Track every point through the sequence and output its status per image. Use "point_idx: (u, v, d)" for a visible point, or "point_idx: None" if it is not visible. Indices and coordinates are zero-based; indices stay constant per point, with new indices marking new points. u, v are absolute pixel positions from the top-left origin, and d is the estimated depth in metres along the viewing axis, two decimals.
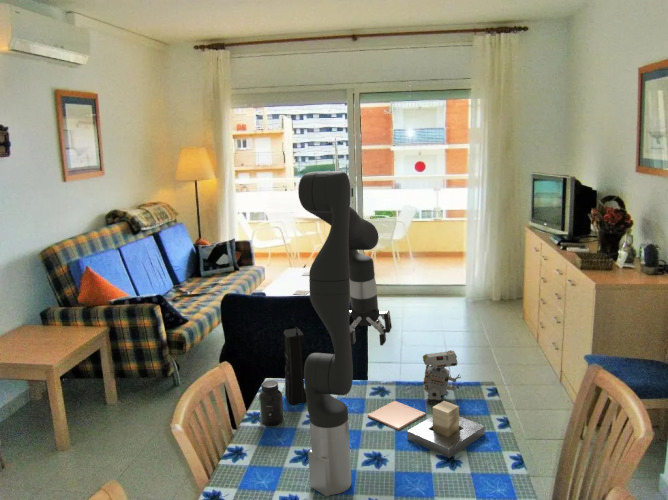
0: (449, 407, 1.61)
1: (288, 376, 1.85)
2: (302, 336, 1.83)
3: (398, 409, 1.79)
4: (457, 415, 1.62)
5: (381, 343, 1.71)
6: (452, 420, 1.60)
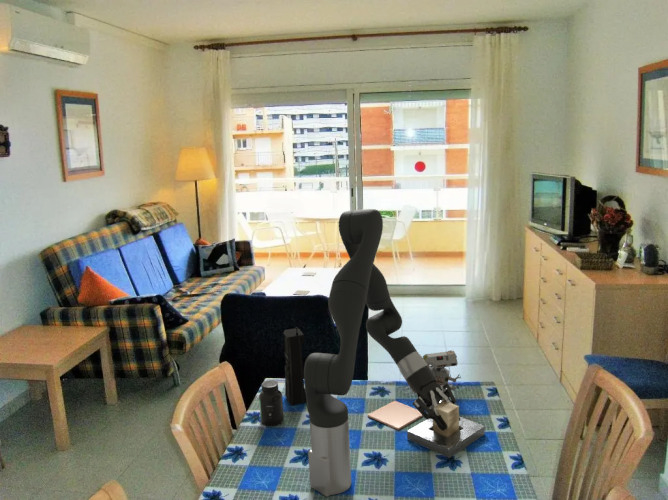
0: (449, 407, 1.61)
1: (288, 376, 1.85)
2: (302, 336, 1.83)
3: (398, 409, 1.79)
4: (457, 415, 1.62)
5: None
6: (452, 419, 1.60)
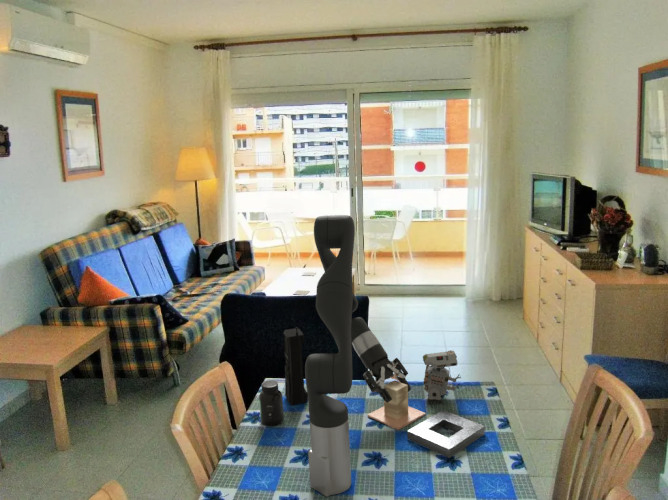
0: (398, 386, 1.74)
1: (288, 376, 1.85)
2: (302, 336, 1.83)
3: None
4: (406, 393, 1.75)
5: (409, 387, 1.77)
6: (401, 397, 1.73)
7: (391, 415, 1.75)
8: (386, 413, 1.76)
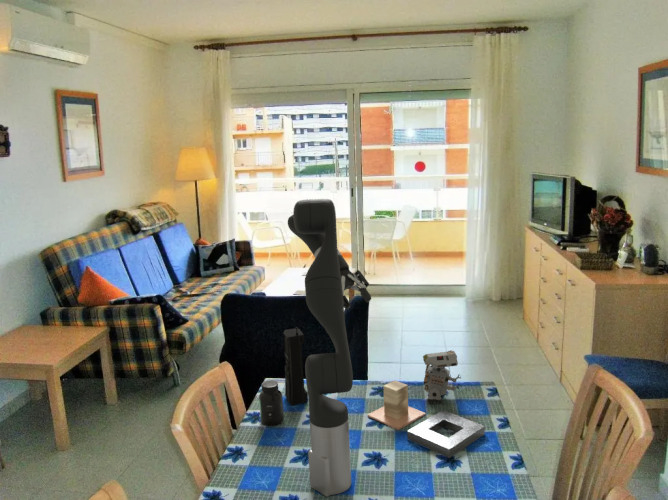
0: (398, 386, 1.74)
1: (288, 376, 1.85)
2: (302, 336, 1.83)
3: None
4: (406, 393, 1.75)
5: (369, 296, 1.79)
6: (401, 397, 1.73)
7: (391, 415, 1.75)
8: (386, 413, 1.76)
